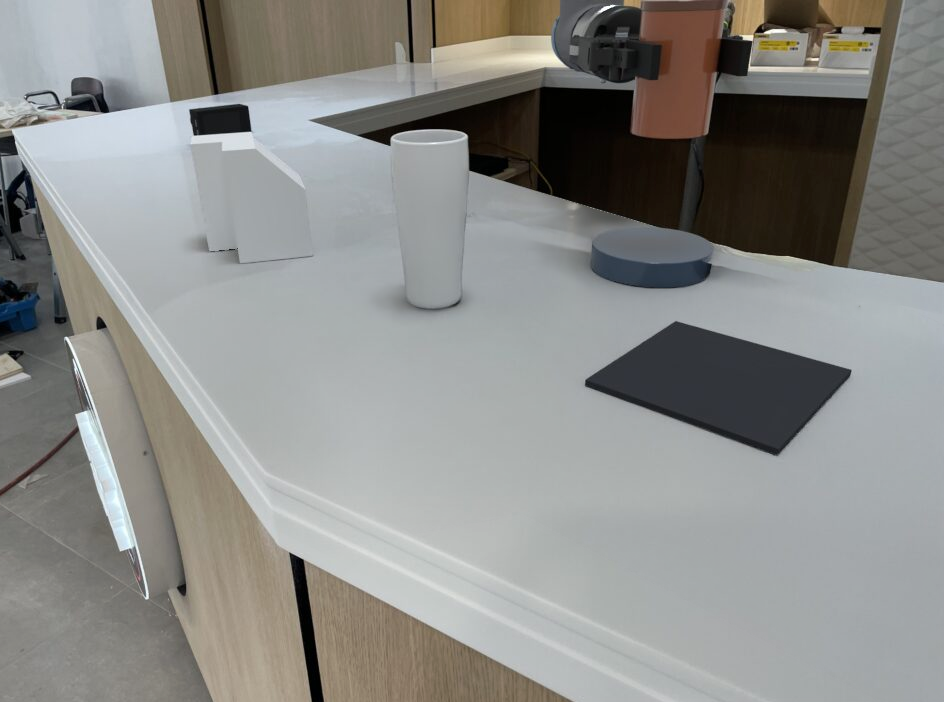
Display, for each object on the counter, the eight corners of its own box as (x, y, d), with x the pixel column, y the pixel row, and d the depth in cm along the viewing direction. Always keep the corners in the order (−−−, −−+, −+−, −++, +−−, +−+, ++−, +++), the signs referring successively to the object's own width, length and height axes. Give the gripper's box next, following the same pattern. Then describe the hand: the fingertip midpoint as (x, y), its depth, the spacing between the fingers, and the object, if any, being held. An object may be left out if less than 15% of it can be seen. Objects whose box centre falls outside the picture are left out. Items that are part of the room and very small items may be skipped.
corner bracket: (210, 238, 89) (191, 135, 83) (303, 229, 91) (292, 128, 85) (208, 266, 79) (188, 153, 74) (312, 255, 82) (300, 145, 76)
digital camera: (242, 139, 149) (237, 102, 145) (253, 142, 145) (248, 105, 141) (193, 145, 143) (186, 108, 140) (203, 149, 139) (196, 111, 136)
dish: (730, 264, 76) (734, 241, 75) (675, 297, 68) (679, 272, 67) (627, 242, 83) (630, 220, 82) (567, 270, 76) (569, 246, 74)
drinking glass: (389, 311, 67) (379, 142, 60) (408, 285, 73) (401, 128, 66) (461, 316, 66) (460, 144, 59) (475, 289, 71) (475, 129, 64)
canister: (722, 130, 68) (743, -3, 63) (686, 142, 64) (705, 0, 59) (652, 123, 73) (666, -2, 68) (614, 134, 68) (625, 1, 63)
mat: (850, 375, 54) (852, 369, 54) (777, 455, 45) (778, 449, 45) (674, 326, 63) (675, 320, 62) (584, 385, 54) (585, 379, 54)
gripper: (696, 76, 83) (806, 103, 63) (524, 83, 82) (580, 113, 62) (706, 2, 80) (825, 5, 60) (526, 8, 78) (586, 14, 58)
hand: (700, 60), depth 61 cm, fingers closed on canister, 7 cm apart
